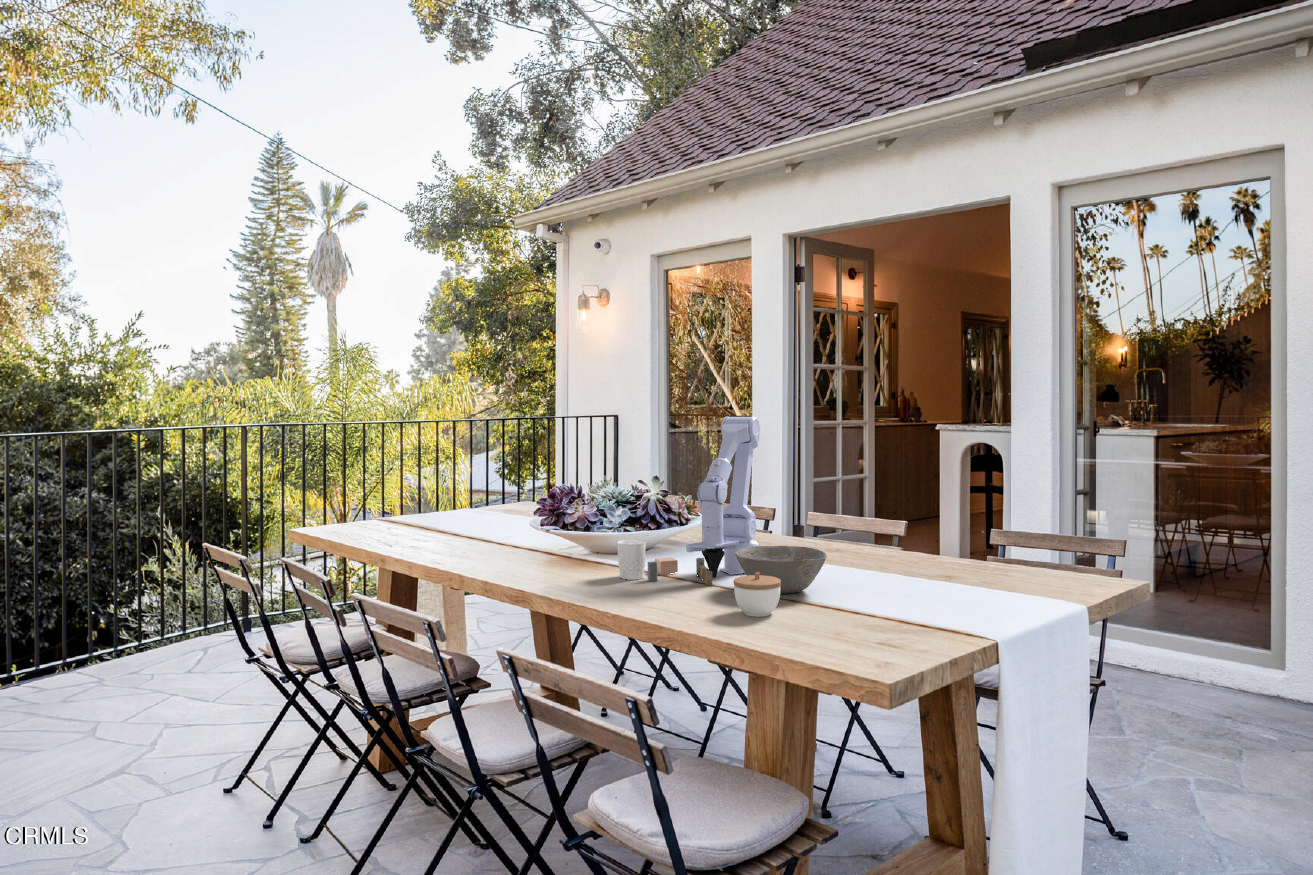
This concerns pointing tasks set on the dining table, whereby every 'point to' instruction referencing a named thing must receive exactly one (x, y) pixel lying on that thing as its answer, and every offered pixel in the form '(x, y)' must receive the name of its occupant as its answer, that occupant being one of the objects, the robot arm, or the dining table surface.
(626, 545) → the white cup
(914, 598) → the dining table surface
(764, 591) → the lidded jar
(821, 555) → the ceramic bowl
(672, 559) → the block
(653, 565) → the grey blocks
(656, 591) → the dining table surface
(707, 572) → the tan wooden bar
